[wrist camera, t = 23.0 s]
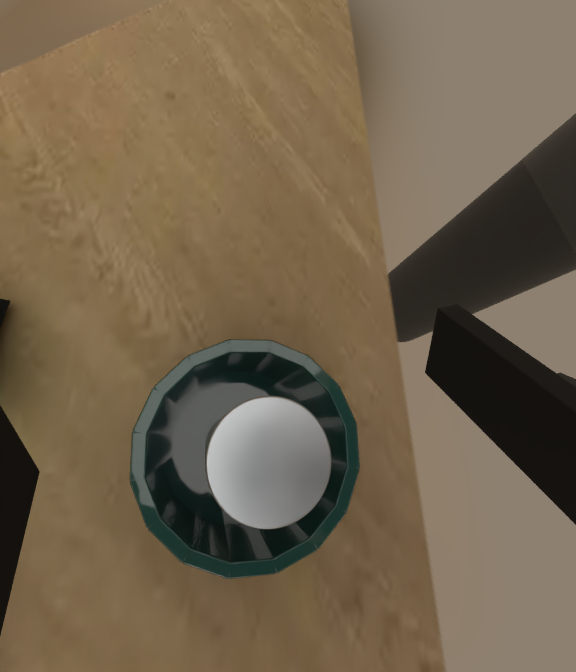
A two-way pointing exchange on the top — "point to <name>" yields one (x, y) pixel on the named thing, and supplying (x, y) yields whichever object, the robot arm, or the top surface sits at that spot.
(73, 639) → the top surface
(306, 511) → the silver metal cylinder
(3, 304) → the toy figure
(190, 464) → the utensil crock
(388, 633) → the top surface
